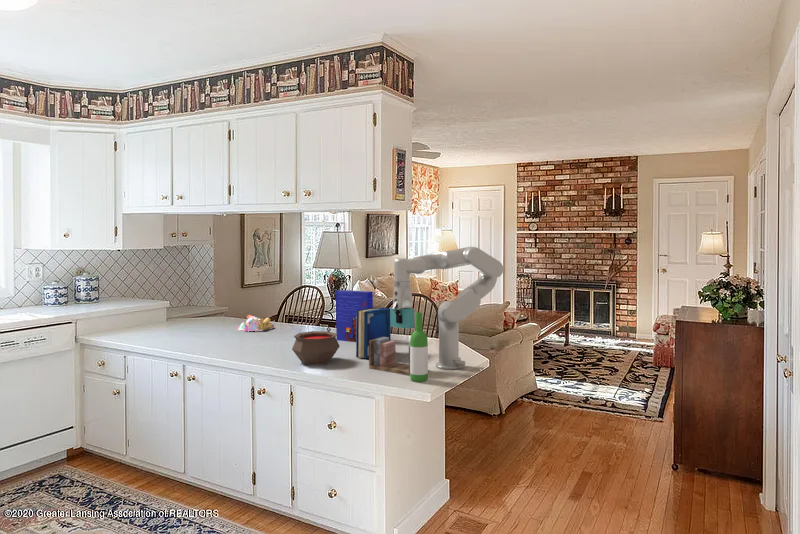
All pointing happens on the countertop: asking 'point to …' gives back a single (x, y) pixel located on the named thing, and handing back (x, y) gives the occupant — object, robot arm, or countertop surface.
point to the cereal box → (350, 312)
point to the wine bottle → (418, 352)
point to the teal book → (403, 318)
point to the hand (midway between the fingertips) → (402, 322)
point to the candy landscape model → (256, 324)
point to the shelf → (386, 356)
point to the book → (371, 328)
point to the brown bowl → (315, 347)
